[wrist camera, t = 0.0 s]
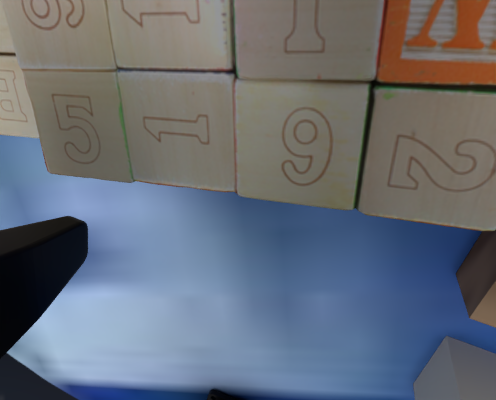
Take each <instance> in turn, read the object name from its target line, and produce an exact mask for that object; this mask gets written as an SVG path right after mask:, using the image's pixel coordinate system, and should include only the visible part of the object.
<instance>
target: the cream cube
mask: <svg viewBox="0 0 496 400" xmlns="http://www.w3.org/2000/svg"><path fill="white" fill-rule="evenodd" d="M413 386H414V396H415V400H496V354H495V353H492V352H489V351H487V350H484V349H481V348H478V347H476V346H473V345H470V344H468V343H465V342H462V341H459V340H457V339H454V338H451V337H449V336H446V337H445V338H444V340H443V341H442V343H441V344H440V346H439V347H438V349H437V350H436V351H435V353H434V354H433V356H432V357H431V359H430V360H429V362H428V363H427V365H426V366H425V367H424V369H423V370H422V372H421V373H420V375H419V376H418V378H417V379H416V381H415V382H414V384H413Z"/></svg>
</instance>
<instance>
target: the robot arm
mask: <svg viewBox="0 0 496 400" xmlns="http://www.w3.org/2000/svg"><path fill="white" fill-rule="evenodd" d="M87 254H88V226H87V224H86V223H85V222H84V221H82V220H79V219H77V218H74V217H71V216H65V217H60V218H56V219H51V220H46V221H42V222H37V223H32V224H28V225H23V226H18V227H14V228H9V229H5V230H0V359H1V358H2V357H3V355H5V354H6V353H7V351H8V350H9V349H10V348H11V347H12V346H13V345H14V344H15V343H16V342H17V341H18V340H19V339H20V338H21V337H22V336H23V335H24V334H25V333H26V332H27V331H28V330H29V329H30V328H31V327H32V325H33V324H34V323H35V322H36V321H37V320H38V319H39V318H40V317H41V316H42V314H43V313H44V312H45V311H46V310H47V308H48V307H49V306H50V305H51V303H52V302H53V301H54V300H55V298H56V297H57V296H58V294H59V293H60V292H61V291H62V289H63V288H64V287H65V286H66V284H67V283H68V282H69V281H70V279H71V278H72V277H73V275H74V274H75V273H76V272H77V270H78V269H79V268H80V267H81V265H82V264H83V263H84V261H85V259H86V257H87ZM207 400H236V399H234V398H232V397H229V396H227V395H225V394H222V393H220V392H218V391H215V390H211V391H210V392H209V395H208V398H207Z"/></svg>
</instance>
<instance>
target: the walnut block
mask: <svg viewBox="0 0 496 400" xmlns="http://www.w3.org/2000/svg"><path fill="white" fill-rule="evenodd" d="M456 276H457V280H458V283H459V286H460V289H461V293H462V296H463V299H464V302H465V305H466V309H467V312H468V315H469V318H470V319H473V320H476V321H479V322H482V323H484V324H487V325H490V326H493V327H496V230H495V231H482V233H481V234H480V236H479V238H478V239H477V241H476V242H475V244H474V246H473V247H472V249H471V250H470V252H469V254H468V255H467V257H466V258H465V260H464V262H463V263H462V265H461V266H460V268H459V270H458V271H457V273H456Z"/></svg>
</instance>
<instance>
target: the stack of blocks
mask: <svg viewBox="0 0 496 400" xmlns="http://www.w3.org/2000/svg"><path fill="white" fill-rule="evenodd" d="M0 135H9V136H22V137H31V138H40V142H41V146H42V151H43V155H44V159H45V164H46V167H47V170H48V172H50V173H51V174H58V175H67V176H75V177H84V178H95V179H102V180H109V181H118V182H127V183H132V182H135V181H139V182H145V183H151V184H158V185H167V186H176V187H189V188H195V189H202V190H210V191H220V192H235V193H237V194H238V195H239V196H241V197H247V198H254V199H261V200H269V201H276V202H284V203H292V204H300V205H308V206H316V207H324V208H332V209H340V210H352V209H354V208H356V209H357V210H358V211H360V212H362V213H364V214H366V215H371V216H379V217H386V218H393V219H400V220H407V221H414V222H421V223H428V224H435V225H442V226H449V227H457V228H464V229H471V230H478V231H495V230H496V0H0Z"/></svg>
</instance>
